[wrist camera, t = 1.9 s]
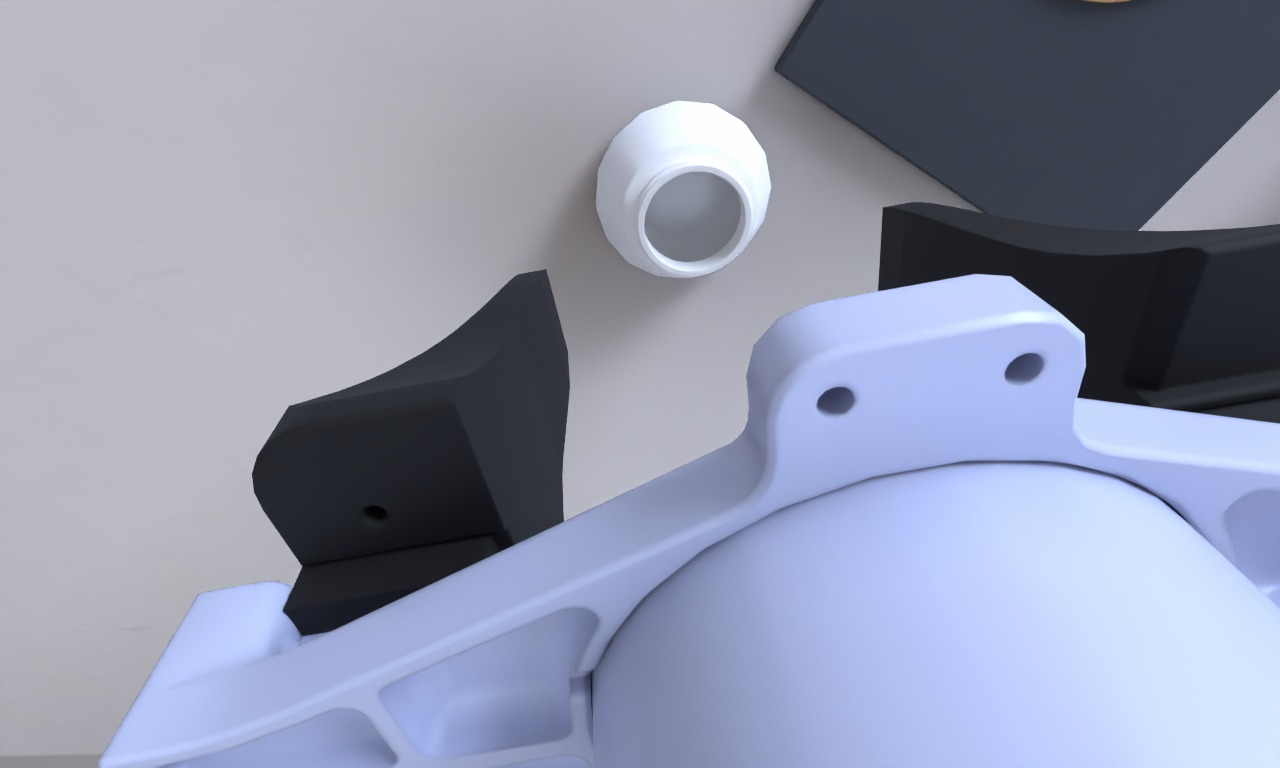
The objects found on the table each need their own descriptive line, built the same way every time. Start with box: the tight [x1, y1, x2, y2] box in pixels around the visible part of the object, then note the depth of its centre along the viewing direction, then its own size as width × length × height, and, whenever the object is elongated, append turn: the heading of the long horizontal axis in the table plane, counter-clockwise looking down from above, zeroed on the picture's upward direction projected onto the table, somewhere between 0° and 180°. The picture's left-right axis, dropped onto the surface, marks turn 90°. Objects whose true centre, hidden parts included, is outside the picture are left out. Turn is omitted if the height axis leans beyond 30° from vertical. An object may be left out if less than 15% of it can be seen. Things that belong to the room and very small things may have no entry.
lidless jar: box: [596, 101, 771, 278], centre depth 18 cm, size 5×3×5 cm
